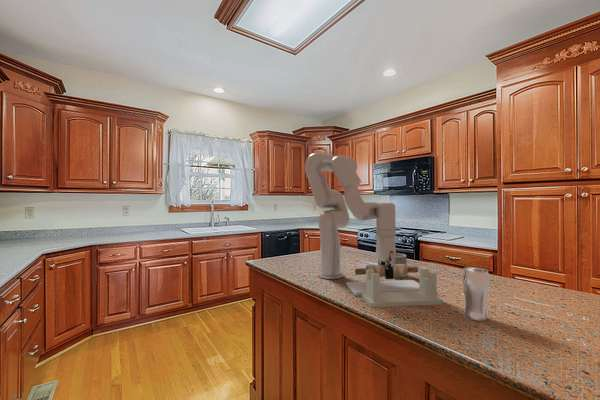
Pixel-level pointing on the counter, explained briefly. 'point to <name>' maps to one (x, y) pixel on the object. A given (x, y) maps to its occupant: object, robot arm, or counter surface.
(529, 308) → the counter surface
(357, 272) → the rolling pin
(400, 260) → the coffee mug
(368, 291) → the pin stand
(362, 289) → the pastry board
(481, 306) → the beer glass
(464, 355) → the counter surface
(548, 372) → the counter surface
